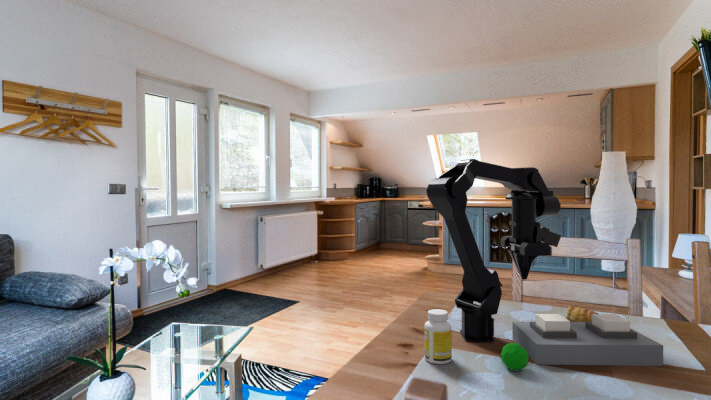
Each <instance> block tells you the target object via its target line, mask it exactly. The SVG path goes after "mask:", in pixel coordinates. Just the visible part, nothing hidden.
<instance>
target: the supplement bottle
mask: <svg viewBox="0 0 711 400" xmlns="http://www.w3.org/2000/svg"><path fill="white" fill-rule="evenodd" d="M427 319H428V320H427V321H425V323H424V327H423V328H424V359H425V360H426V362H429V363H431V364H435V365H445V364H449V363H450V362H451V361H452V357H453V355H452V354H453V353H452V351H453V350H452V346H453V343H452V335H453V334H452V325H451V323H450V322H449V321H448V319H449V313H448V311H447V310H444V309H439V308H435V309H433V308H432V309H429V310H428V311H427Z"/></svg>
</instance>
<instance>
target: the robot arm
mask: <svg viewBox="0 0 711 400" xmlns="http://www.w3.org/2000/svg"><path fill="white" fill-rule="evenodd" d="M475 179H477V180H481V181H487V182H493V183H498V184H501V185H502V186H503V187H504V188H506V189H508V190H511V191H510V193H508V194H507V195H506V196H505V200H509V201H510V200H511V220H509V222H508V224H509V226H511V235H504V236H502V237H501V238H500V247H502V248H506V247H510V249H507V252H508V253H509V255H510V257H511V260H512V262H513V263H514V265H515V268H516V269H517V272H518V274H519V276H520V279H522V280H528V276H529V274H530V270H531V267H532V264H533V262H534V260H535V259H536V258H538V257H550V256H553V247H555V248H558V246H559V243H560V241H561V238H562V235H561V234H558V233H556V232H552V231H550V229H549V227H545V226H543V225H542V226H541V223H540V221H537V218H541V217H542V218H544V217H555V216H556V215H558V214H559V212H560V211H561V205H562V204H561V203H560V200H559V198H558V197H557V196H555V195H554V190H549V189H548V186H547V185H546V183H545V181H544V178H543V177H542V175H541V174H540V172H539V169H538V168H536V167H535V166H534V167H531V166H530V167H529V166H528V167H508V166H504V165H501V164H500V165H499V164H496V163H489V162H485V161H481V160H478V159H475V158H469V159H462V160H458V162H457V163H456V164H454V165H453V166H452V167H451V168H449V169H448V170H446V171H444V172H443V173H441V174H440V175H439V176H438V177H437V178H434V179H433V178H432V179H431V180H430V181H429V183H428V185H427V188H426V190H425V191H426V196H427V198H428V200H429V202H430V203H431V205H432V207H433V208H434V210H436V211H437V212H438V214H439V215H440V216H441V217H443V219H444V221H445V222H444V223H445V225H446V227H447V231H448V232H449V235H450V237H451V241H452V243H453V247H454V248H455V251H456V254H457V256H458V259H459V262H460V264H461V267H462V269H463V275H462V278H461V285H462V289H461V291H460V292H459V293H458V295H457V296H456V298H455V299H454V302H455V306H456V308H457V309H460V310H461V329H460V330H459V333H460V335H461V336H462V337H463V339H464V341H465V342H494V341H495V338H494V336H495V319H494V318H493V316H494V315H497V314H498V312H499V311H498V310H499V307H500V303H501V298H502V295H503V292H502V290H503V289H502V287H503V283H501V281H500V278H499V273H498V272H497V270H495V269H489V268H487V267H486V266H485V263H484V260H483V257H482V255H481V252H480V249H479V246H478V244H477V241H476V238H475V236H474V235H475V234H474V232H473V230H472V227H471V224H470V222H469V219H468V216H467V213H466V209H467V205H468V195H467V192H468V191H469V190H470V189H471V188H472V187H473V186H474V182H475ZM474 302H475V303H474ZM476 303H477V304H476ZM479 304H480V305H479Z"/></svg>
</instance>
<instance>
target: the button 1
mask: <svg viewBox="0 0 711 400" xmlns="http://www.w3.org/2000/svg"><path fill="white" fill-rule="evenodd" d="M535 322H536V325H537V326H539V327H540V328H541V329H542V330H544V331H570V321H569V320H567V319H566V317H564V316H563V315H562V314H559V313H535Z"/></svg>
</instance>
